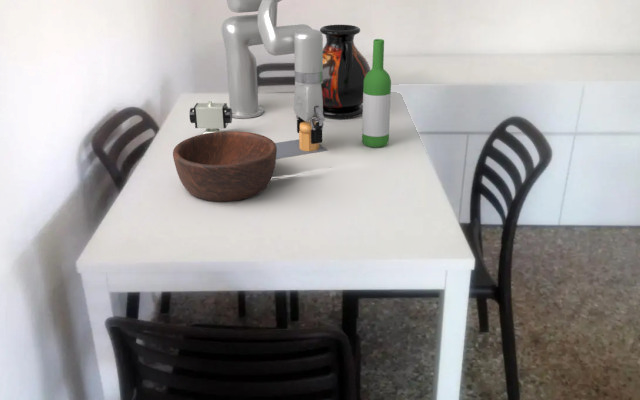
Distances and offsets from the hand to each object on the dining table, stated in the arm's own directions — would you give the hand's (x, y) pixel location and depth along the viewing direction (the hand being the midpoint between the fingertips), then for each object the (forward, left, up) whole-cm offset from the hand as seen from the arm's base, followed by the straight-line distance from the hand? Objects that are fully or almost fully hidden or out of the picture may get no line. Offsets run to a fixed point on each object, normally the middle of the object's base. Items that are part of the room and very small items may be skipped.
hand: (309, 137), depth 179 cm
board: (-2, -5, -4) cm, 7 cm away
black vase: (-30, +24, -5) cm, 39 cm away
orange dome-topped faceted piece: (0, 0, -3) cm, 3 cm away
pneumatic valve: (-21, -22, -4) cm, 31 cm away
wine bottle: (+2, +20, -4) cm, 21 cm away
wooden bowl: (+13, -28, -5) cm, 31 cm away
